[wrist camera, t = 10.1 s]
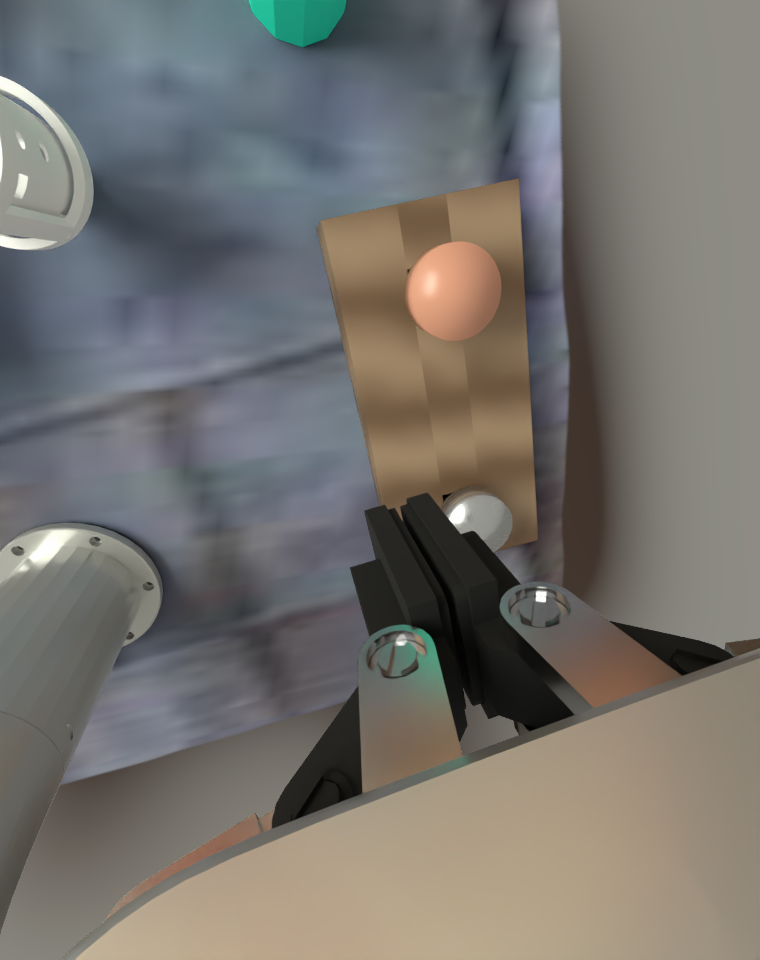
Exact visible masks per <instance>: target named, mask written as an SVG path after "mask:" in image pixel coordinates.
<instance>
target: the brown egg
mask: <svg viewBox="0 0 760 960" xmlns="http://www.w3.org/2000/svg"><path fill="white" fill-rule="evenodd" d="M404 296H405V304H406V308H407V310H408V313H409V315H410V317H411V319H412V320H413V322H414V323H415V324H416V325H417V326H418V327H419V328H420V329H421V330H423V331H424V332H426V333H428V334H431V335H433V336H435V337H438V338H440V339H443V340H447V341H460V340H465V339H468V338H470V337H472V336H474V335H476V334H478V333H479V332H480V331H482V330H483V329H484V328H485V327H486V326H487V325H488V324H489V322H490V321H491V320H492V318H493V316H494V315H495V313H496V310H497V308H498V305H499V302H500V297H501V277H500V273H499V270H498V267H497V265H496V263H495V261H494V260H493V258H492V257H491V256H490V254H489V253H487V252H486V251H485V250H484V249H483V248H481V247H480V246H478V245H476V244H473V243H470V242H463V241H458V242H451V243H446V244H441V245H437V246H434V247H432V248H430V249H428V250H427V251H425V252H424V253H423V254H422V255H420V256H419V257H418V259H417V260H416V261H415V262H414V264H413V265H412V267H411V269H410V271H409V273H408V276H407V279H406V283H405V292H404Z"/></svg>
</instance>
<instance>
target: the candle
mask: <svg viewBox="0 0 760 960" xmlns="http://www.w3.org/2000/svg"><path fill="white" fill-rule="evenodd" d="M248 1H249V4H250V7H251V10H252V13H253V14H254V15H255V16H256V17H257V18H258V20H259V21H260V22H261V23H262V24H263V25H264V26H265V27H266V28H267V30H268V31H269V32H270V33H271V34H272V35H273V36H274V37H275V38H276V39H279V40H282V41H285V42H288V43H291V44H294V45H297V46H300V47H305V46H307V45H310V44H313V43H316V42H318V41H321V40H324V39H326V38H328V36H329V35H330V33H331V32H332V30H333V29H334V27H335V26H336V24H337V23H338V21H339V20H340V18H341V17H342V15H343V14H344V11H345V6H346V1H347V0H248Z"/></svg>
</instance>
